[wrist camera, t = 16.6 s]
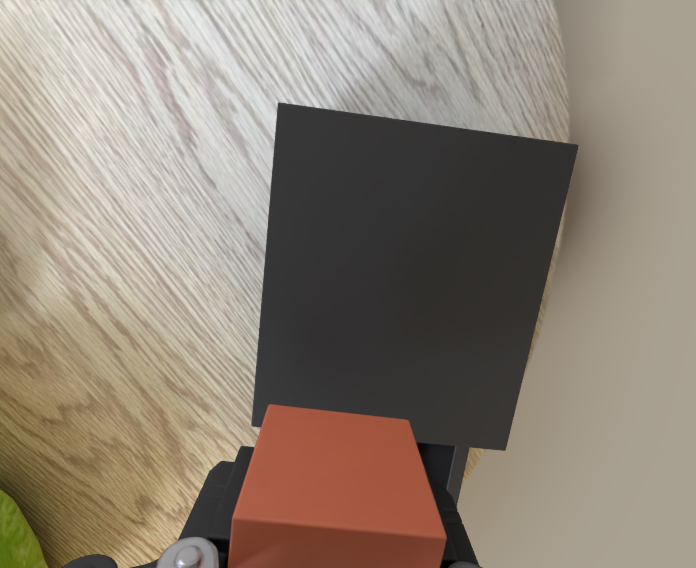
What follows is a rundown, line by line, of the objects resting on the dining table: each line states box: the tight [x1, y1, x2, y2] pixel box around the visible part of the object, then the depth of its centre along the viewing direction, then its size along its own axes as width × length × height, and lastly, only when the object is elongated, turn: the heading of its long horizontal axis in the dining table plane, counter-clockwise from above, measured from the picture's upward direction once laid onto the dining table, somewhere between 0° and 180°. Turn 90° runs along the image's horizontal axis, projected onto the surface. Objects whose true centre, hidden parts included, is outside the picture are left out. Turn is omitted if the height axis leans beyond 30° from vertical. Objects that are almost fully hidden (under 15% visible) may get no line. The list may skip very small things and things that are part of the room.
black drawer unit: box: [252, 103, 578, 451], centre depth 22 cm, size 15×13×10 cm
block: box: [228, 404, 447, 568], centre depth 11 cm, size 5×5×5 cm
